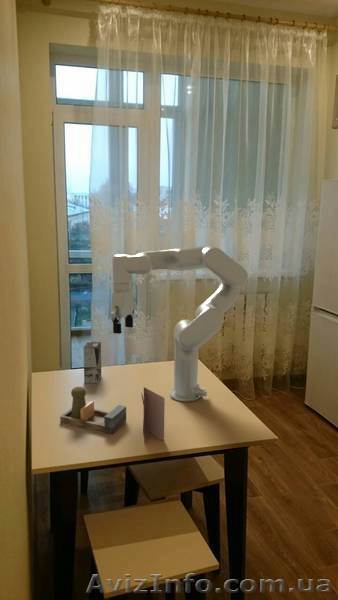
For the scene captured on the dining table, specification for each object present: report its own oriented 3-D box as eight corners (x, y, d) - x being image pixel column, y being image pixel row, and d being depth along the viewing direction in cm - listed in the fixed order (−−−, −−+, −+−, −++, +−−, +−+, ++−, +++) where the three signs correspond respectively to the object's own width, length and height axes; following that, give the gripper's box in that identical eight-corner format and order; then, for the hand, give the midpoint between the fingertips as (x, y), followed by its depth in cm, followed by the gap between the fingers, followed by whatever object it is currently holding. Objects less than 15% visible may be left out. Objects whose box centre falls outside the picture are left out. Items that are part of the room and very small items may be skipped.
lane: (126, 421, 155) (126, 406, 154) (112, 434, 146) (112, 418, 144) (76, 411, 162) (76, 396, 161) (60, 423, 153) (59, 407, 152)
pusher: (94, 414, 158) (94, 401, 157) (83, 422, 151) (82, 409, 150) (91, 413, 158) (91, 400, 157) (80, 422, 152) (80, 408, 151)
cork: (79, 422, 152) (79, 392, 150) (67, 418, 155) (66, 389, 153) (91, 415, 157) (90, 387, 155) (78, 411, 160) (78, 383, 158)
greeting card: (141, 427, 151) (141, 386, 148) (162, 427, 151) (162, 386, 148) (141, 444, 140) (141, 401, 137) (164, 444, 140) (164, 400, 137)
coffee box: (98, 383, 189) (97, 347, 186) (83, 383, 190) (82, 347, 186) (101, 375, 198) (101, 341, 195) (87, 375, 198) (87, 341, 195)
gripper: (124, 283, 175) (125, 324, 179) (102, 289, 159) (103, 334, 163) (141, 284, 172) (141, 325, 176) (120, 291, 157) (121, 336, 160)
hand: (123, 330), depth 169 cm, fingers open, 9 cm apart
